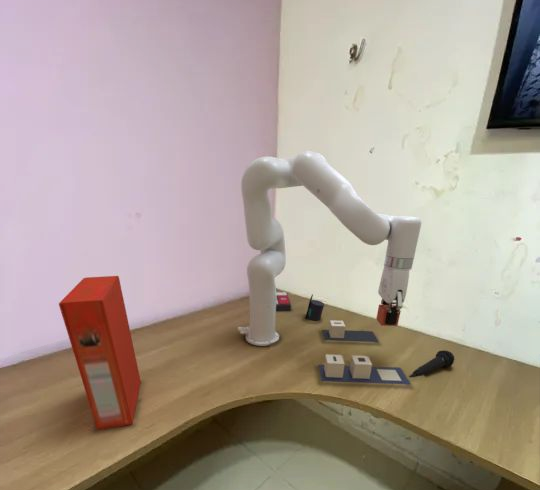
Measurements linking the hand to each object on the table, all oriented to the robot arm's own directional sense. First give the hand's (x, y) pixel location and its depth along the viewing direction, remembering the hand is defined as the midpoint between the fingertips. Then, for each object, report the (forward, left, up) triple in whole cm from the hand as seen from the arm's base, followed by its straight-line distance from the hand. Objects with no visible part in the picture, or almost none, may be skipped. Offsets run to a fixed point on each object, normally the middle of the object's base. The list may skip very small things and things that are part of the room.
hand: (387, 319), depth 96 cm
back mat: (-6, +17, -16) cm, 24 cm away
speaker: (-18, +33, -16) cm, 41 cm away
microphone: (+15, -4, -16) cm, 22 cm away
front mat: (-7, -9, -16) cm, 19 cm away
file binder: (-74, -26, -16) cm, 80 cm away
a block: (-11, +17, -15) cm, 25 cm away
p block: (-8, -9, -15) cm, 19 cm away
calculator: (-34, +49, -16) cm, 62 cm away
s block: (0, 0, -1) cm, 1 cm away
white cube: (-16, -9, -15) cm, 24 cm away
